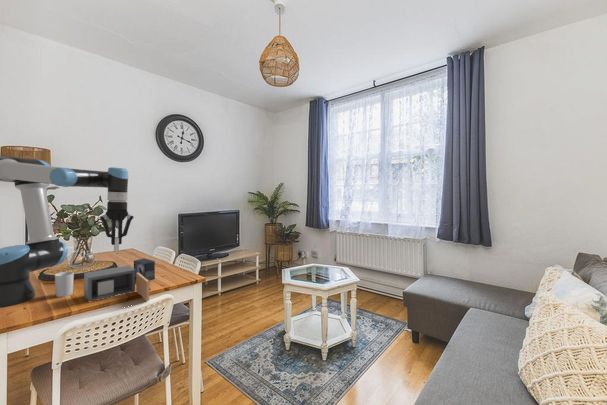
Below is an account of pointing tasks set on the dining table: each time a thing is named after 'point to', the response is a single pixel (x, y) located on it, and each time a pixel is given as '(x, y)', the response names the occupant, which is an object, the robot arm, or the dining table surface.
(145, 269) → the small box
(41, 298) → the dining table surface
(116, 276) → the grey cabinet
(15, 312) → the dining table surface
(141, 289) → the side door
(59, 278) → the drinking glass
